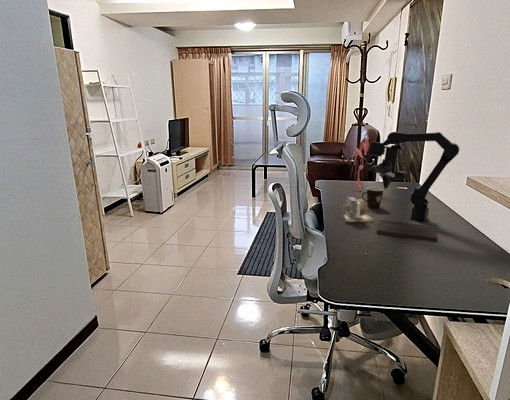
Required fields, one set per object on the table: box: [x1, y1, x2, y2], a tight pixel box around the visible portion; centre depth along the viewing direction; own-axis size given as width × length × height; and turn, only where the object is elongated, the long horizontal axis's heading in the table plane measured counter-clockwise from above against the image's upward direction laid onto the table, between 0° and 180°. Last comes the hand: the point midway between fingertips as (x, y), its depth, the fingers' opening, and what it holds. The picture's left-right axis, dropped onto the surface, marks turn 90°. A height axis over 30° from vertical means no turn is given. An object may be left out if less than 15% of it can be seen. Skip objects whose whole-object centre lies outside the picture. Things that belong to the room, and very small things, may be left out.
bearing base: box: [342, 196, 374, 223], centre depth 168 cm, size 12×7×10 cm, turn 91°
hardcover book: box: [376, 219, 438, 243], centre depth 153 cm, size 16×23×2 cm
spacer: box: [356, 202, 361, 218], centre depth 168 cm, size 2×7×7 cm, turn 1°
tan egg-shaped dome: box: [342, 198, 366, 216], centre depth 168 cm, size 9×8×8 cm
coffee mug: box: [361, 186, 384, 209], centre depth 191 cm, size 12×9×10 cm
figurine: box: [352, 136, 371, 191], centre depth 229 cm, size 15×26×35 cm, turn 158°
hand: (385, 188), depth 175 cm, fingers closed
